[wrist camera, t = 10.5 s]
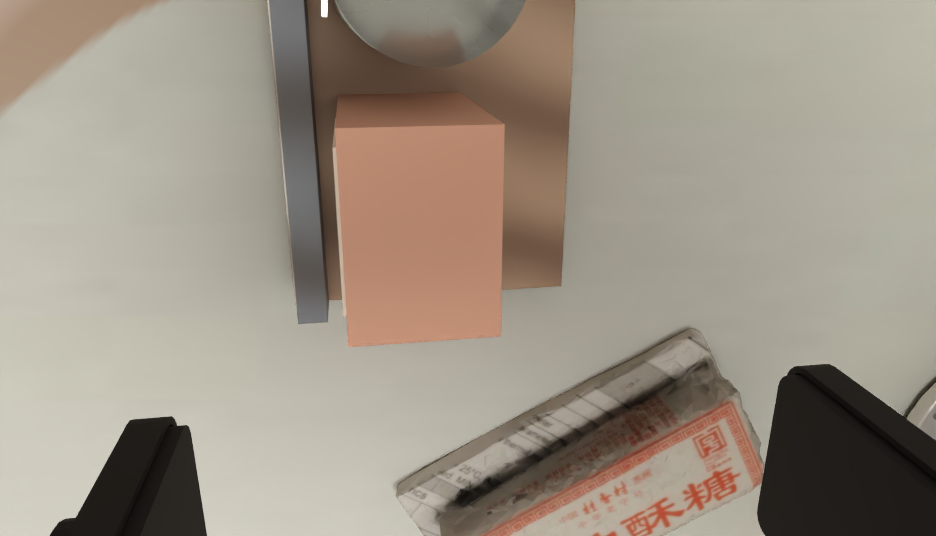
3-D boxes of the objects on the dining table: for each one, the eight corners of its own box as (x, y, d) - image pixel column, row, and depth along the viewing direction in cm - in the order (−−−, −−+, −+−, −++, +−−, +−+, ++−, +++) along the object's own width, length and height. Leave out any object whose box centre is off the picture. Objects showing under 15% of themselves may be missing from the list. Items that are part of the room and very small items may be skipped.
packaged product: (738, 359, 32) (796, 506, 36) (690, 317, 37) (746, 451, 41) (397, 541, 33) (490, 668, 36) (391, 478, 37) (474, 596, 41)
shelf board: (554, 276, 34) (576, 305, 31) (300, 291, 32) (295, 324, 29) (571, -115, 28) (602, -132, 25) (264, -124, 27) (252, -144, 23)
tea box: (459, 250, 32) (500, 336, 23) (344, 256, 31) (344, 347, 23) (459, 92, 29) (504, 124, 21) (334, 94, 28) (330, 128, 20)
